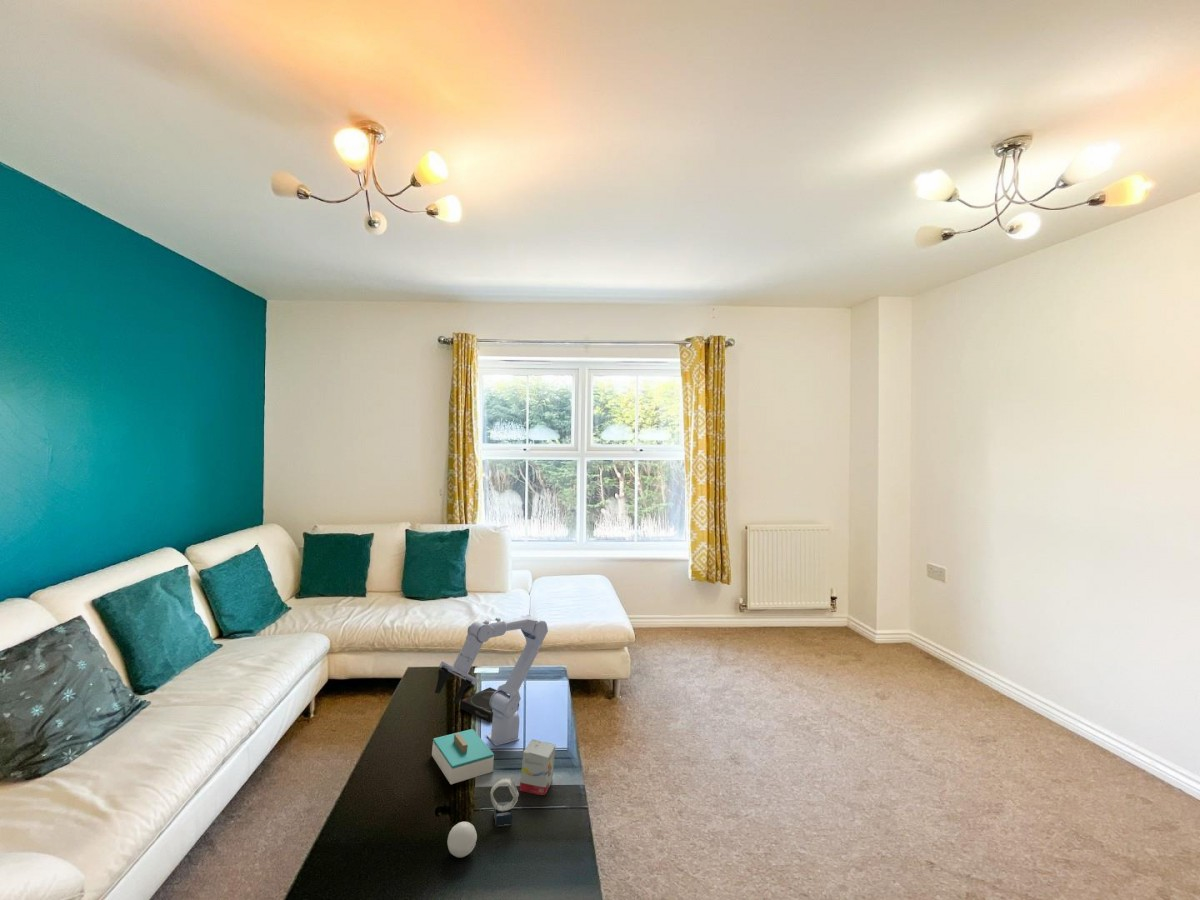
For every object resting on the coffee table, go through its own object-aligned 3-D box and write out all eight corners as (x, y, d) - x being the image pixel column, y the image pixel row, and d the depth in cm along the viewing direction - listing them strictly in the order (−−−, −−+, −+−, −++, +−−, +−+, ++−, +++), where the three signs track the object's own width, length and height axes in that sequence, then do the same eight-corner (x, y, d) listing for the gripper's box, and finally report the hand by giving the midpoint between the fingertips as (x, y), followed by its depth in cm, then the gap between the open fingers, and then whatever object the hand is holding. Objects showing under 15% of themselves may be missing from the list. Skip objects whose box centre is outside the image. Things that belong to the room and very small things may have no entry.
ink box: (545, 796, 157) (548, 757, 157) (518, 790, 158) (522, 751, 159) (553, 780, 165) (556, 742, 165) (528, 774, 167) (531, 738, 167)
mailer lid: (472, 730, 182) (473, 721, 182) (493, 756, 167) (494, 746, 167) (433, 740, 173) (433, 731, 173) (452, 768, 159) (453, 757, 159)
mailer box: (471, 744, 181) (472, 731, 182) (492, 771, 167) (493, 756, 167) (431, 755, 173) (433, 741, 173) (450, 784, 159) (452, 769, 159)
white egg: (475, 863, 129) (478, 833, 129) (444, 866, 127) (447, 835, 127) (476, 835, 138) (479, 807, 139) (448, 836, 137) (450, 808, 137)
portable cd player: (519, 708, 212) (519, 698, 212) (489, 723, 197) (490, 713, 198) (490, 696, 221) (490, 686, 221) (459, 710, 206) (460, 700, 206)
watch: (518, 824, 144) (521, 784, 144) (489, 828, 141) (492, 788, 141) (515, 811, 149) (518, 772, 149) (487, 815, 146) (490, 775, 147)
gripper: (444, 646, 174) (423, 687, 168) (479, 664, 169) (458, 706, 163) (453, 650, 180) (433, 689, 174) (487, 667, 175) (467, 708, 169)
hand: (446, 698), depth 169 cm, fingers open, 7 cm apart
